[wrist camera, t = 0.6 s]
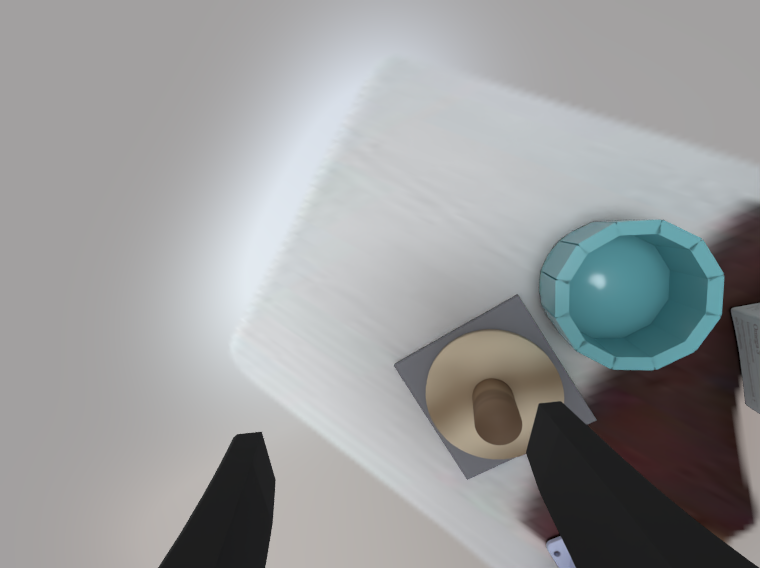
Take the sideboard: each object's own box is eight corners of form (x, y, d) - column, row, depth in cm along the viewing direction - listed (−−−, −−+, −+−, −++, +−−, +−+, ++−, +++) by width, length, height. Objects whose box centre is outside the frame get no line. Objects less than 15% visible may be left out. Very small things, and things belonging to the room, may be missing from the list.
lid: (586, 417, 30) (612, 456, 25) (469, 471, 32) (471, 516, 27) (515, 304, 29) (527, 321, 25) (402, 368, 32) (392, 394, 27)
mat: (594, 417, 30) (596, 420, 30) (467, 475, 33) (467, 479, 32) (517, 294, 30) (518, 295, 29) (395, 363, 32) (394, 365, 32)
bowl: (701, 305, 28) (753, 323, 23) (579, 366, 30) (603, 394, 25) (633, 195, 27) (672, 189, 22) (515, 264, 29) (527, 273, 25)
